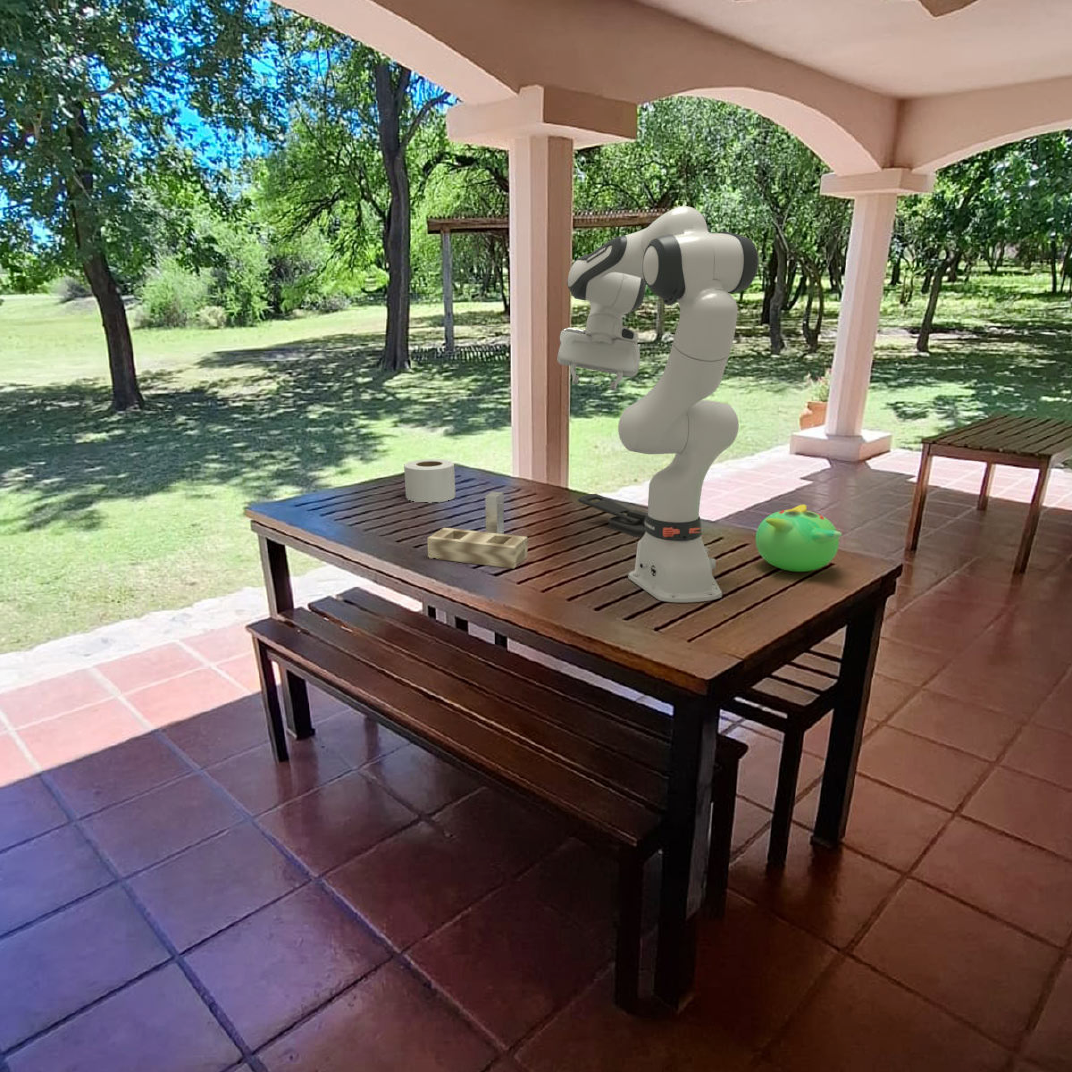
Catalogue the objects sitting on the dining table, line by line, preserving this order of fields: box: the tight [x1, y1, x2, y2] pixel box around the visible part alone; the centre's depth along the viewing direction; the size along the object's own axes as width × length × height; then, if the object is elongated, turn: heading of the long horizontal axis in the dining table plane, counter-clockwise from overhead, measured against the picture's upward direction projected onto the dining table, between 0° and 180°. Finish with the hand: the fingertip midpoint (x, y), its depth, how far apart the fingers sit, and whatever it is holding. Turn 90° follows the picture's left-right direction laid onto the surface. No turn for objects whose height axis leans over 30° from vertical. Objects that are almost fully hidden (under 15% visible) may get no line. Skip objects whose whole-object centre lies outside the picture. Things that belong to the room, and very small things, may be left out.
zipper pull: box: [577, 493, 648, 538], centre depth 203 cm, size 9×7×25 cm
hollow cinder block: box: [426, 527, 528, 569], centre depth 177 cm, size 22×9×5 cm, turn 71°
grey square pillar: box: [484, 491, 505, 534], centre depth 186 cm, size 3×4×13 cm, turn 161°
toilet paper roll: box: [403, 458, 456, 504], centre depth 231 cm, size 16×15×11 cm
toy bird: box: [755, 504, 843, 573], centre depth 169 cm, size 18×17×15 cm
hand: (593, 386), depth 182 cm, fingers open, 8 cm apart
